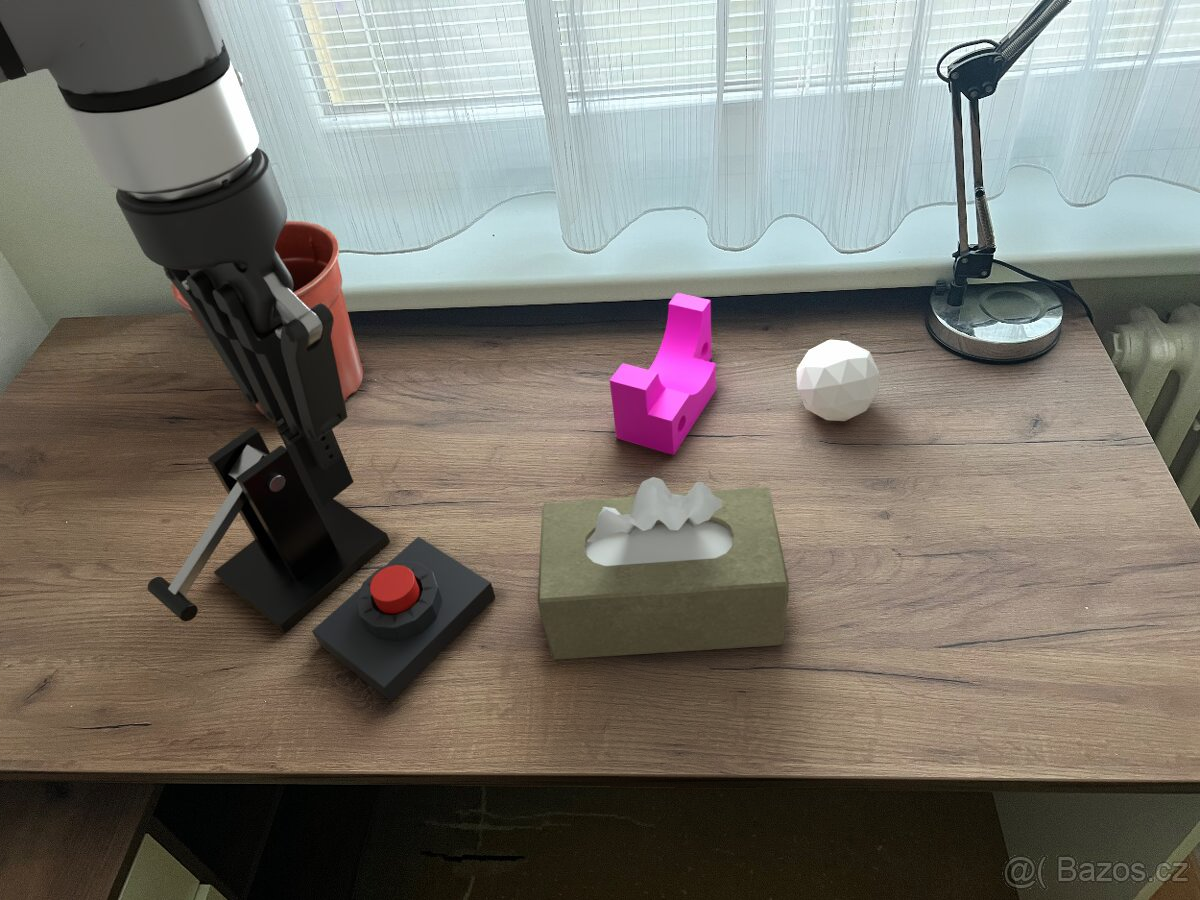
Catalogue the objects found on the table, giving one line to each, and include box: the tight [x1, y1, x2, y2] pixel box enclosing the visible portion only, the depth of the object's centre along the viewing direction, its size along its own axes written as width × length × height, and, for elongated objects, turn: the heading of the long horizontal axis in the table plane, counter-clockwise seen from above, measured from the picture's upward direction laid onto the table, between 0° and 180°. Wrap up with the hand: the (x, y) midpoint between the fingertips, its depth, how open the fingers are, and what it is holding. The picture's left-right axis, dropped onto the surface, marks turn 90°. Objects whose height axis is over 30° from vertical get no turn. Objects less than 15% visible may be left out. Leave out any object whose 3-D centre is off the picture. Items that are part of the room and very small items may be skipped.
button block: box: [311, 536, 496, 702], centre depth 72 cm, size 12×9×4 cm
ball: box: [795, 339, 880, 422], centre depth 84 cm, size 8×8×8 cm
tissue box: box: [537, 476, 790, 660], centre depth 67 cm, size 19×10×16 cm, turn 90°
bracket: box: [207, 426, 391, 634], centre depth 75 cm, size 12×10×14 cm
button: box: [370, 565, 420, 614], centre depth 70 cm, size 4×4×2 cm
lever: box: [146, 445, 268, 622], centre depth 70 cm, size 14×5×2 cm, turn 139°
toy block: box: [609, 292, 717, 456], centre depth 87 cm, size 15×6×8 cm, turn 151°
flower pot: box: [170, 220, 364, 417], centre depth 92 cm, size 16×16×16 cm
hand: (331, 489), depth 60 cm, fingers closed
